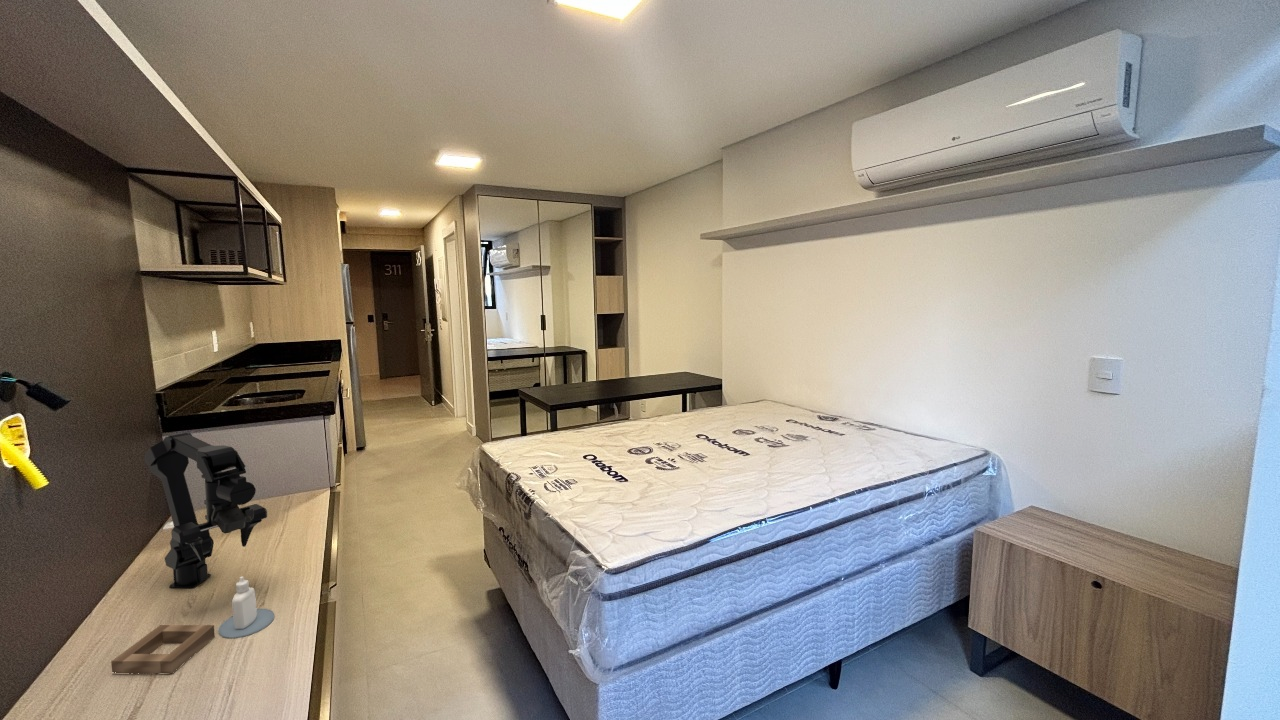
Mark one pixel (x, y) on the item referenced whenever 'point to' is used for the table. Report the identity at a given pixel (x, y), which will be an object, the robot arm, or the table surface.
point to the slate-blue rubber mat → (259, 623)
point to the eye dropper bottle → (244, 605)
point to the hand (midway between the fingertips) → (223, 553)
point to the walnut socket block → (146, 663)
